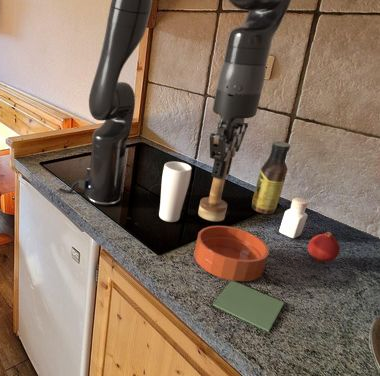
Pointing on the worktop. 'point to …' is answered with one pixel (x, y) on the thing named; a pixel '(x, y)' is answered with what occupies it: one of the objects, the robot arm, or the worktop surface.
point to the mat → (249, 305)
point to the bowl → (231, 253)
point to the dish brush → (214, 200)
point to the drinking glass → (174, 190)
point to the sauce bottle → (271, 180)
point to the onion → (323, 248)
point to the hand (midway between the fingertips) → (219, 175)
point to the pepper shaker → (294, 218)
